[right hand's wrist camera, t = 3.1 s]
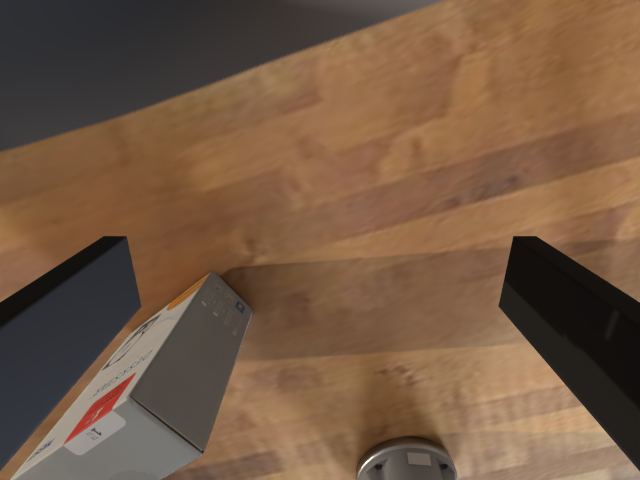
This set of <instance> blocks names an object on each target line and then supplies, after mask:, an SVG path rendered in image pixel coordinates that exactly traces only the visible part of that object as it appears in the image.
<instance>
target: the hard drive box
mask: <svg viewBox="0 0 640 480" xmlns="http://www.w3.org/2000/svg"><path fill="white" fill-rule="evenodd" d="M252 314H253V312H252V309H251V308H250V307H249V306H248V305H247V304H246V303H245V302H244V301H243V300H242V299H241V298H240V297H239V296H238V295H237V294H236V293H235V292H234V291H233V290H232V289H231V288H230V287H229V286H228V285H227V284H226V283H225V282H224V281H223V280H222V279H221V278H220V277H219V276H218V275H217V274H216V273H215V272H214V271H212V272H210V273H209V274H207V275H206V276H205V277H203V278H202V279H201V280H199V281H198V282H197V283H195V284H194V285H193V286H191V287H190V288H189V289H188V290H186V291H185V292H184V293H183V294H181V295H180V296H179V297H177V298H176V299H175V300H173V301H172V302H171V303H170V304H168V305H167V306H166V307H164V308H163V309H162V310H160V311H159V312H158V313H156V314H155V315H154V316H152V317H151V318H150V319H149V320H147V321H146V322H145V323H143V324H142V325H141V326H140V327H138V328H137V329H136V330H135V331H133V332H132V333H131V334H130V335H129V336H128V337H127V338H126V339H125V341H124V342H123V343H122V344H121V346H120V347H119V348H118V349H117V350H116V352H115V353H114V354H113V355H112V356H111V358H110V359H109V360H108V361H107V363H106V364H105V365H104V366H103V367H102V369H101V370H100V371H99V372H98V374H97V375H96V376H95V377H94V379H93V380H92V381H91V382H90V383H89V385H88V386H87V387H86V388H85V389H84V391H83V392H82V393H81V394H80V396H79V397H78V398H77V399H76V401H75V402H74V403H73V404H72V405H71V406H70V408H69V409H68V410H67V411H66V413H65V414H64V415H63V416H62V417H61V419H60V420H59V421H58V422H57V423H56V425H55V426H54V427H53V428H52V430H51V431H50V432H49V433H48V434H47V436H46V437H45V438H44V439H43V441H42V442H41V443H40V444H39V445H38V447H37V448H36V449H35V450H34V451H33V453H32V454H31V455H30V456H29V457H28V459H27V460H26V461H25V462H24V463H23V465H22V466H21V467H20V468H19V469H18V471H17V472H16V473H15V474H14V475H13V477H12V478H11V479H10V480H162V479H164V478H165V477H167V476H169V475H170V474H172V473H174V472H175V471H177V470H179V469H180V468H182V467H184V466H185V465H187V464H188V463H190V462H192V461H193V460H195V459H196V458H198V457H200V456H201V455H202V454H203V452H204V451H205V448H206V445H207V443H208V440H209V437H210V434H211V432H212V429H213V425H214V423H215V419H216V416H217V414H218V411H219V408H220V405H221V402H222V399H223V396H224V393H225V391H226V388H227V385H228V382H229V379H230V376H231V374H232V371H233V368H234V365H235V362H236V359H237V356H238V354H239V351H240V348H241V345H242V342H243V339H244V337H245V334H246V331H247V328H248V325H249V322H250V320H251V317H252Z"/></svg>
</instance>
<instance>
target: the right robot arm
mask: <svg viewBox="0 0 640 480" xmlns="http://www.w3.org/2000/svg"><path fill="white" fill-rule="evenodd" d="M140 307H141V302H140V297H139V293H138V288H137V283H136V279H135V274H134V269H133V265H132V260H131V255H130V251H129V246H128V241H127V237H126V236H104V237H102V238H100V239H99V240H97V241H96V242H94V243H93V244H91V245H90V246H88V247H86V248H85V249H83V250H82V251H80V252H79V253H77V254H75V255H74V256H72V257H71V258H69V259H68V260H66V261H65V262H63V263H61V264H60V265H58V266H57V267H55V268H54V269H52V270H51V271H49V272H47V273H46V274H44V275H43V276H41V277H40V278H38V279H36V280H35V281H33V282H32V283H30V284H29V285H27V286H26V287H24V288H22V289H21V290H19V291H18V292H16V293H15V294H13V295H11V296H10V297H8V298H7V299H5V300H4V301H2V302H1V303H0V471H1V470H2V468H3V467H4V466H5V465H6V464H7V463H8V461H9V460H10V459H11V458H12V457H13V456H14V454H15V453H16V452H17V451H18V450H19V449H20V447H21V446H22V445H23V444H24V443H25V442H26V440H27V439H28V438H29V437H30V436H31V435H32V433H33V432H34V431H35V430H36V429H37V428H38V426H39V425H40V424H41V423H42V422H43V421H44V419H45V418H46V417H47V416H48V415H49V414H50V412H51V411H52V410H53V409H54V408H55V407H56V405H57V404H58V403H59V402H60V401H61V400H62V398H63V397H64V396H65V395H66V394H67V393H68V391H69V390H70V389H71V388H72V387H73V386H74V384H75V383H76V382H77V381H78V380H79V379H80V377H81V376H82V375H83V374H84V373H85V372H86V370H87V369H88V368H89V367H90V366H91V365H92V363H93V362H94V361H95V360H96V359H97V358H98V356H99V355H100V354H101V353H102V352H103V351H104V349H105V348H106V347H107V346H108V345H109V344H110V342H111V341H112V340H113V339H114V338H115V337H116V335H117V334H118V333H119V332H120V331H121V330H122V328H123V327H124V326H125V325H126V324H127V323H128V321H129V320H130V319H131V318H132V317H133V316H134V314H135V313H136V312H137V311H138V310H139V309H140ZM499 307H500V309H501V310H502V311H503V312H504V313H505V314H506V316H507V317H508V318H509V319H510V320H511V321H512V323H513V324H514V325H515V326H516V327H517V328H518V330H519V331H520V332H521V333H522V334H523V335H524V337H525V338H526V339H527V340H528V341H529V342H530V344H531V345H532V346H533V347H534V348H535V349H536V351H537V352H538V353H539V354H540V355H541V356H542V358H543V359H544V360H545V361H546V362H547V363H548V365H549V366H550V367H551V368H552V369H553V370H554V372H555V373H556V374H557V375H558V376H559V377H560V379H561V380H562V381H563V382H564V383H565V384H566V386H567V387H568V388H569V389H570V390H571V391H572V393H573V394H574V395H575V396H576V397H577V398H578V400H579V401H580V402H581V403H582V404H583V405H584V407H585V408H586V409H587V410H588V411H589V412H590V414H591V415H592V416H593V417H594V418H595V419H596V421H597V422H598V423H599V424H600V425H601V426H602V428H603V429H604V430H605V431H606V432H607V433H608V435H609V436H610V437H611V438H612V439H613V440H614V442H615V443H616V444H617V445H618V446H619V447H620V449H621V450H622V451H623V452H624V453H625V454H626V456H627V457H628V458H629V459H630V460H631V461H632V463H633V464H634V465H635V466H636V467H637V468H638V470H639V471H640V303H639V302H638V301H636V300H635V299H633V298H632V297H630V296H629V295H627V294H625V293H624V292H622V291H621V290H619V289H618V288H616V287H614V286H613V285H611V284H610V283H608V282H607V281H605V280H604V279H602V278H600V277H599V276H597V275H596V274H594V273H593V272H591V271H589V270H588V269H586V268H585V267H583V266H582V265H580V264H579V263H577V262H575V261H574V260H572V259H571V258H569V257H568V256H566V255H565V254H563V253H561V252H560V251H558V250H557V249H555V248H554V247H552V246H550V245H549V244H547V243H546V242H544V241H543V240H541V239H540V238H538V237H536V236H514V237H513V241H512V246H511V251H510V255H509V260H508V265H507V269H506V274H505V279H504V283H503V288H502V293H501V297H500V302H499ZM356 478H357V480H457V472H456V469H455V467H454V464H453V461H452V459H451V457H450V455H449V454H448V452H447V451H446V450H445V449H444V448H442V447H441V446H440V445H438V444H436V443H434V442H432V441H429V440H425V439H421V438H411V437H407V438H397V439H392V440H389V441H386V442H383V443H381V444H379V445H377V446H375V447H373V448H372V449H370V450H369V451H368V452H367V453H366V454H365V455H364V456H363V457H362V458H361V460H360V462H359V464H358V466H357V471H356Z"/></svg>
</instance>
